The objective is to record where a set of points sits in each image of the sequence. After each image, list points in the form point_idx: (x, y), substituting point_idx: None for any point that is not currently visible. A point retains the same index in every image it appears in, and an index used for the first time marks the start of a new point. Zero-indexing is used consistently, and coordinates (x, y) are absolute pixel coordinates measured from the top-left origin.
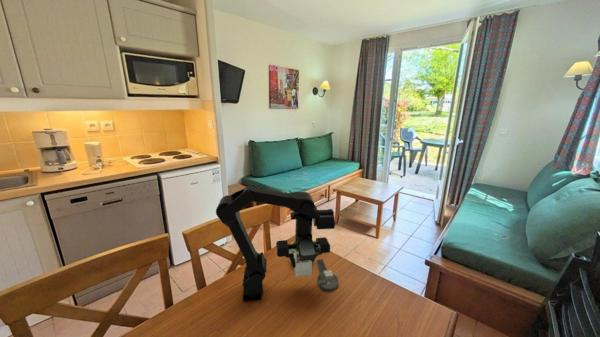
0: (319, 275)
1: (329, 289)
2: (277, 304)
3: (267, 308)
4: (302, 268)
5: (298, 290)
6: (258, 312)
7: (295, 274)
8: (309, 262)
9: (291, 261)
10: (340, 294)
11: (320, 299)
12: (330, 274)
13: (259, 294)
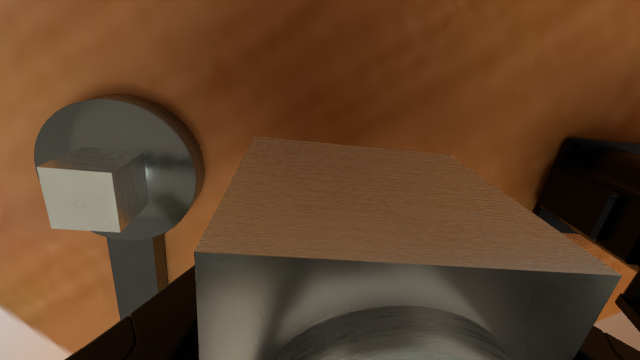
0: (172, 221)
1: (126, 99)
2: (494, 79)
3: (559, 65)
4: (403, 190)
5: None
6: (617, 50)
7: (461, 165)
8: (274, 249)
9: (620, 342)
10: (54, 50)
11: (215, 44)
12: (62, 183)
13: (577, 164)
